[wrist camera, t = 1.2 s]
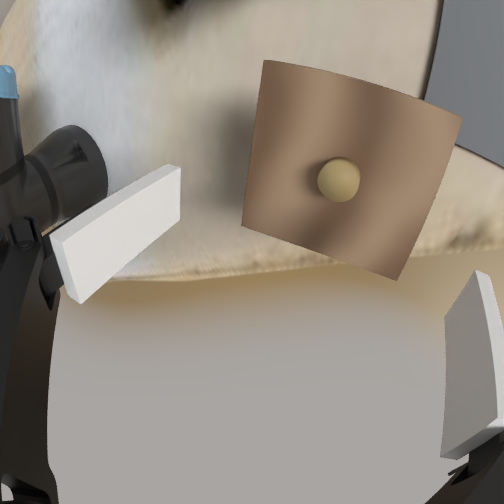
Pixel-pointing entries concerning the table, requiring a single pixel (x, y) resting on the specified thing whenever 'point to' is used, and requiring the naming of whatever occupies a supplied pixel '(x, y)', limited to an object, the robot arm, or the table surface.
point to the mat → (472, 73)
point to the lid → (344, 165)
